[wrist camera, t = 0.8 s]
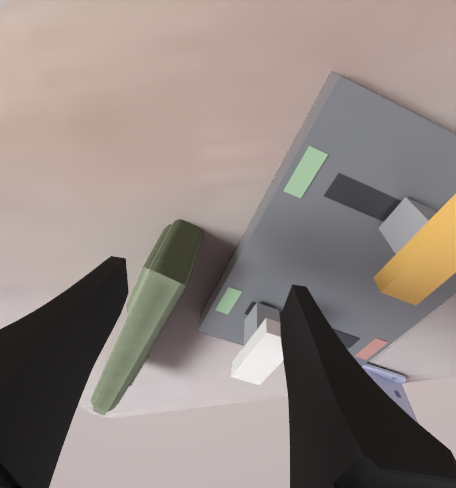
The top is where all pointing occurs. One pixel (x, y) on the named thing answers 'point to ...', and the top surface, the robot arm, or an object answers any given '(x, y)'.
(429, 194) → the switch panel
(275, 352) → the white switch
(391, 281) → the amber switch
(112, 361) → the handheld radio
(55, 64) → the top surface
